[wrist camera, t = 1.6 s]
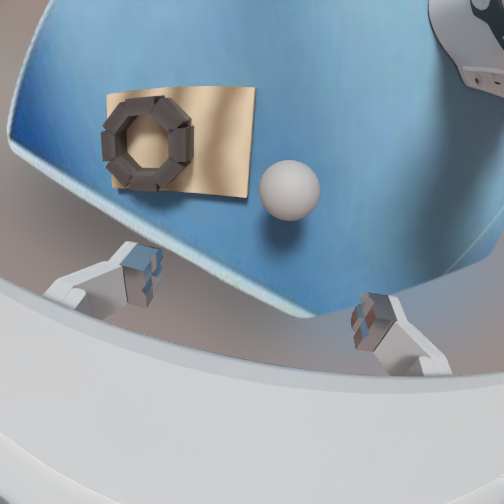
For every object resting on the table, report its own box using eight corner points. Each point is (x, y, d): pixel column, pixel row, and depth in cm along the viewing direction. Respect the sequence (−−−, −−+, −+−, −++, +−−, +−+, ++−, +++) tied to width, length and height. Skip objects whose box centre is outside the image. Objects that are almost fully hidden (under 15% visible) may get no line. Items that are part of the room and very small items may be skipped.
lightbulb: (293, 200, 36) (294, 243, 27) (256, 173, 35) (242, 206, 25) (323, 166, 33) (337, 197, 24) (285, 136, 32) (283, 155, 22)
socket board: (256, 87, 29) (251, 86, 25) (248, 193, 36) (242, 207, 32) (112, 93, 30) (93, 96, 26) (117, 184, 38) (101, 195, 34)
